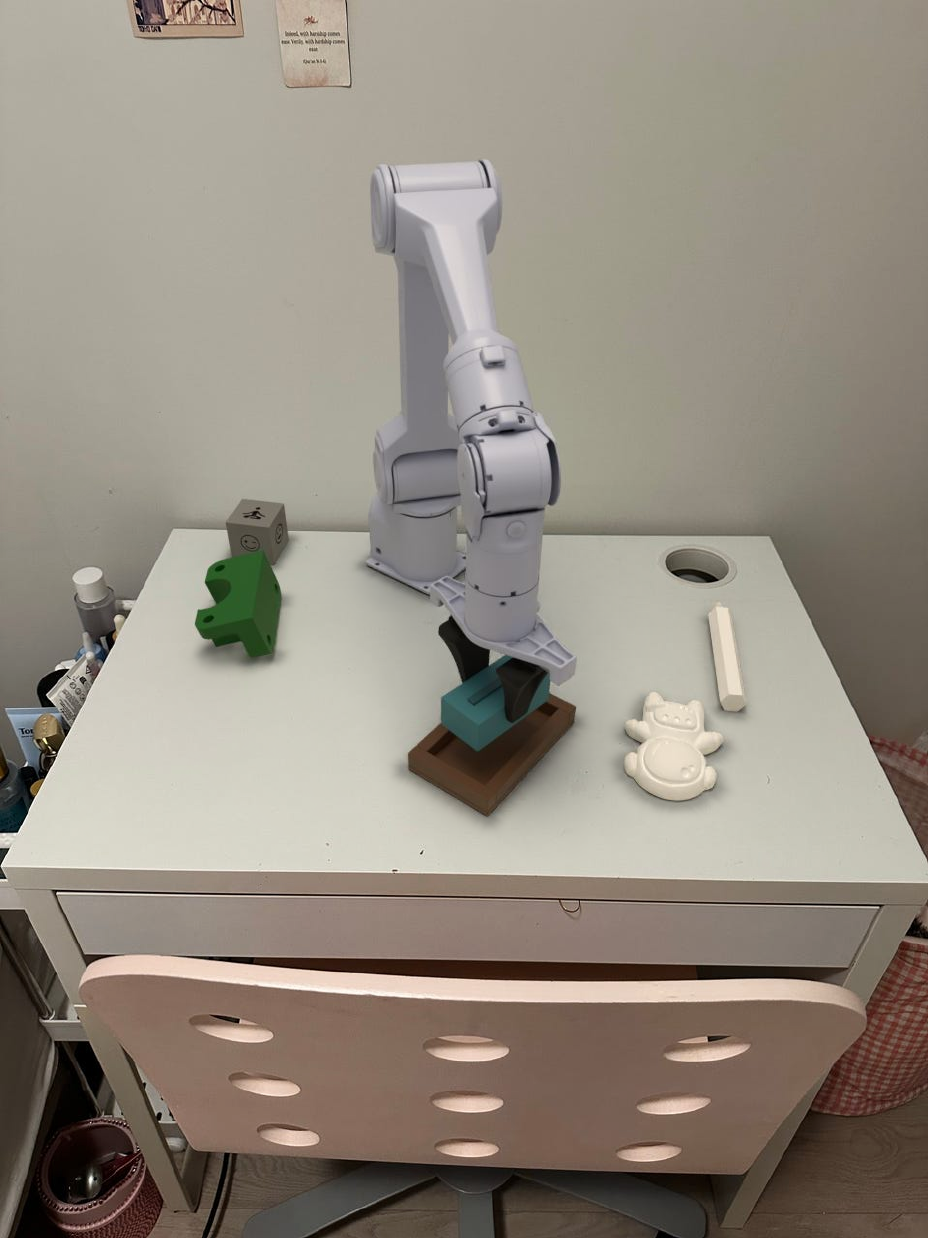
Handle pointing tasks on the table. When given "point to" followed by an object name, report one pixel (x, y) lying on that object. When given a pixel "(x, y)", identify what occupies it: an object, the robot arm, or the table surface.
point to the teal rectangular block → (483, 706)
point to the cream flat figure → (671, 749)
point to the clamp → (242, 604)
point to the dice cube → (258, 529)
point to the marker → (726, 659)
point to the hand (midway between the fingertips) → (496, 701)
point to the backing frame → (490, 756)
